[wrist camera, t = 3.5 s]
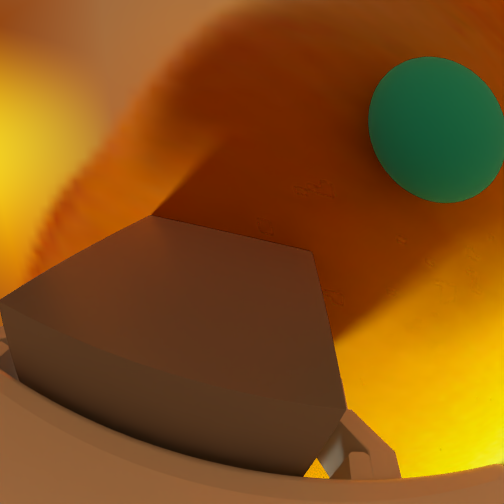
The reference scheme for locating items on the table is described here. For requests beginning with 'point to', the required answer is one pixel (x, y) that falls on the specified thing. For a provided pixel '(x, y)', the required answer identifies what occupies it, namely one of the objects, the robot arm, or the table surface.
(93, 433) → the robot arm
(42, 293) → the matte grey cube
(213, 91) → the table surface
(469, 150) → the ball
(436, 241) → the table surface
